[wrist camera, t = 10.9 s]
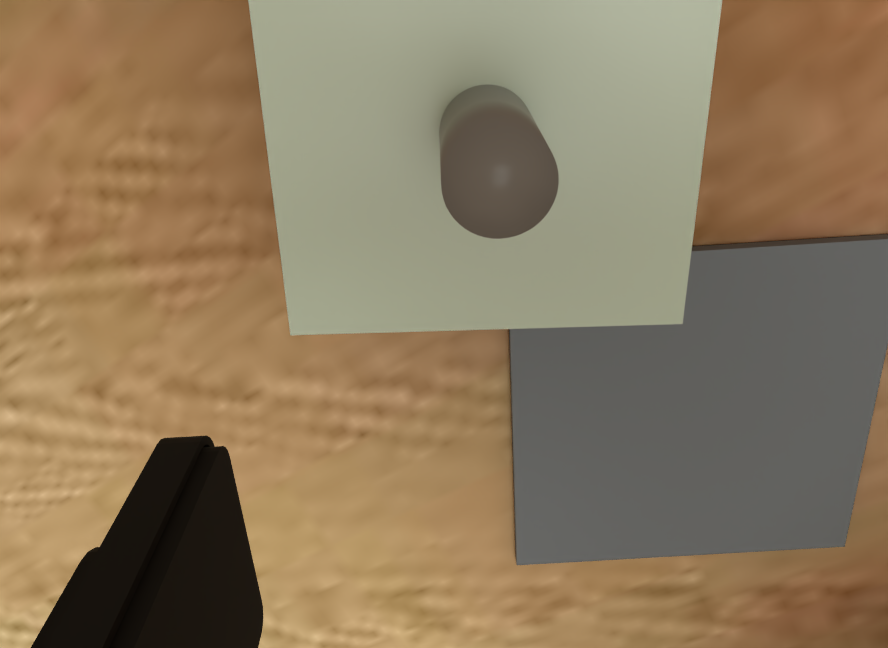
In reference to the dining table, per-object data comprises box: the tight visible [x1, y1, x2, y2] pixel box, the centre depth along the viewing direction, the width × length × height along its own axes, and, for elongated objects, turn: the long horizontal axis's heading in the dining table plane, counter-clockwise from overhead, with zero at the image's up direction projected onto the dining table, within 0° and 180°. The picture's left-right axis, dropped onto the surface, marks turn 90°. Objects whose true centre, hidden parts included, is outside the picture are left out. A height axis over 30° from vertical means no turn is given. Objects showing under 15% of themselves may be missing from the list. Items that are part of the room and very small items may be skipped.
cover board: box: [248, 0, 722, 335], centre depth 24 cm, size 15×15×7 cm
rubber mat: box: [509, 234, 888, 565], centre depth 40 cm, size 18×18×1 cm
